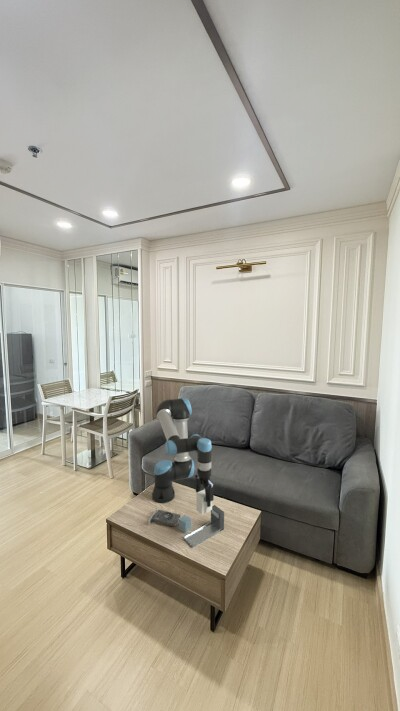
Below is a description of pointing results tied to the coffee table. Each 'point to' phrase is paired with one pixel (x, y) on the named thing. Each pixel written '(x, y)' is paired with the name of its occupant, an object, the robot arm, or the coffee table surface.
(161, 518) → the graphics card
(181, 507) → the coffee table surface
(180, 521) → the block
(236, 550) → the coffee table surface
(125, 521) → the coffee table surface
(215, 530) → the rail
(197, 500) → the block
